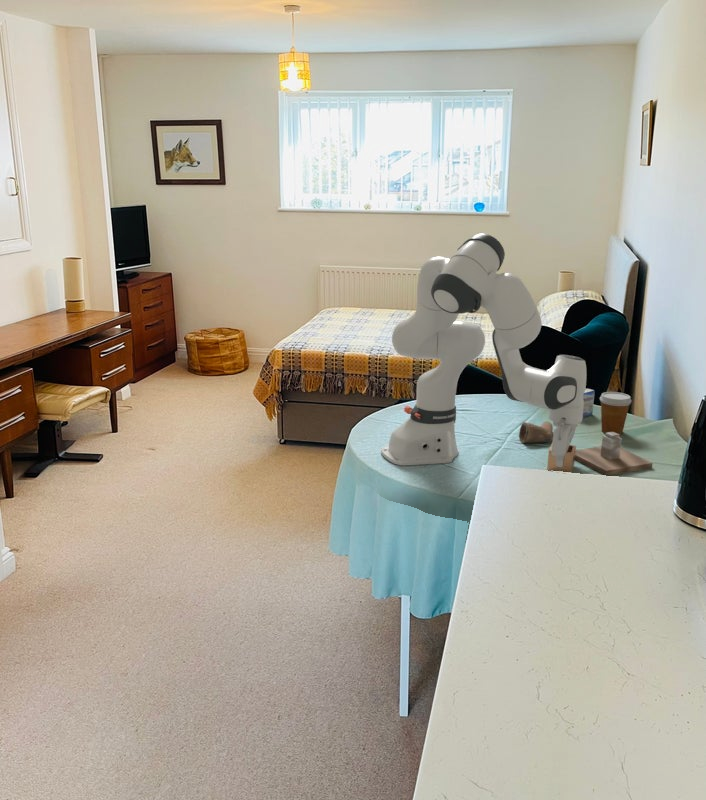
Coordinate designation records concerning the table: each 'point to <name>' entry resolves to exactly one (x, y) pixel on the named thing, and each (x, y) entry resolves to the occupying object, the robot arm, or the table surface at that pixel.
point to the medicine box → (588, 402)
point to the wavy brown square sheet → (611, 457)
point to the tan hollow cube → (568, 460)
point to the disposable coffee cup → (614, 411)
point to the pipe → (535, 433)
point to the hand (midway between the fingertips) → (561, 461)
